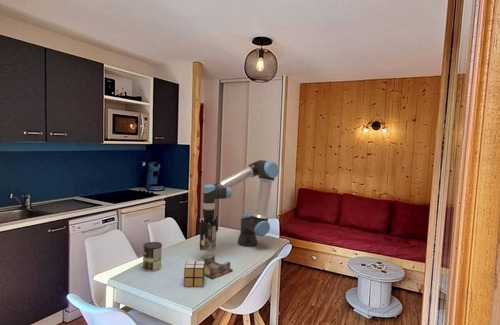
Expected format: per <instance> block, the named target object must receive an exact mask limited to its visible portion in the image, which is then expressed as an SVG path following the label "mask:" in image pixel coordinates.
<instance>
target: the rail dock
mask: <svg viewBox="0 0 500 325" xmlns="http://www.w3.org/2000/svg"><path fill="white" fill-rule="evenodd" d="M215 257H216V256H215V255H210V256H206V257H204V258H201V259H197V260H196V261H205V277H206V278H208V279H210V280H212V281H213V280H215V279H218V278H220V277H222V276H225V275H228V274H230V273H232V272H234V271H233V270H234V269H233V268H231V262H230V261H226V262H224V263H219V262H217V261H215V260H216V258H215Z"/></svg>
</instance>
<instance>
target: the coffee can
mask: <svg viewBox="0 0 500 325" xmlns="http://www.w3.org/2000/svg"><path fill="white" fill-rule="evenodd" d="M162 246H163V243H162V242H159V241H148V242H146V243H144V244H143V245H142V247H143V254H142V255H143V256H142V258H143V259H142V261H143V262H142V270H143V271H144V272H148V273H151V272H152V273H153V272H154V273H155V272H157V271H160V270H161V269H162Z"/></svg>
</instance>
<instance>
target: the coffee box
mask: <svg viewBox="0 0 500 325" xmlns="http://www.w3.org/2000/svg"><path fill="white" fill-rule="evenodd" d="M204 235H205V245H201V240H200V239H199V251H203V252H210V253H213V252H214V251H215V250H216V249H217V232H216V225H210V223H208V225H207V227H206V229H205V232H204Z"/></svg>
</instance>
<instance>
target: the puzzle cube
mask: <svg viewBox="0 0 500 325" xmlns="http://www.w3.org/2000/svg"><path fill="white" fill-rule="evenodd" d="M183 277H184V278H183V287H184V288H185V287H186V288H190V287H196V288H197V287H199V288H203V286H204V284H205V277H206V276H205V261H197V260H187V261H186V262H185V266H184V271H183Z"/></svg>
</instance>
